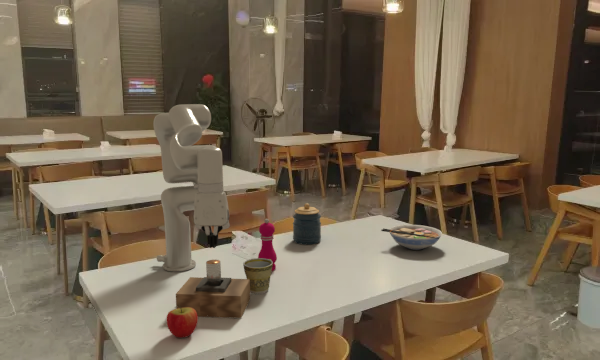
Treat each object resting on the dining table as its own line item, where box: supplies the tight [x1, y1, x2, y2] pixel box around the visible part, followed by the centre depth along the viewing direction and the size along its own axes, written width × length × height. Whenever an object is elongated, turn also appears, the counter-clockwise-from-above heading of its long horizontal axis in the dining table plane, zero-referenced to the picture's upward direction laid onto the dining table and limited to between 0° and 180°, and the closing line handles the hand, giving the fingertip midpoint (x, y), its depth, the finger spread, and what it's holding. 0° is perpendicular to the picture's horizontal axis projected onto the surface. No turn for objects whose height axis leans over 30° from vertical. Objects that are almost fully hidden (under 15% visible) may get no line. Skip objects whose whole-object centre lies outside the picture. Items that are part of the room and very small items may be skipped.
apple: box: [166, 304, 199, 339], centre depth 138 cm, size 8×8×10 cm
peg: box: [205, 259, 222, 286], centre depth 155 cm, size 4×4×8 cm
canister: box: [292, 203, 322, 245], centre depth 227 cm, size 13×13×18 cm
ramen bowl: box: [380, 224, 443, 251], centre depth 217 cm, size 25×23×8 cm
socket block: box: [175, 276, 251, 319], centre depth 156 cm, size 20×14×8 cm
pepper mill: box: [257, 218, 278, 272], centre depth 190 cm, size 7×7×20 cm
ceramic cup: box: [242, 257, 273, 295], centre depth 171 cm, size 13×10×10 cm
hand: (213, 246), depth 153 cm, fingers closed
